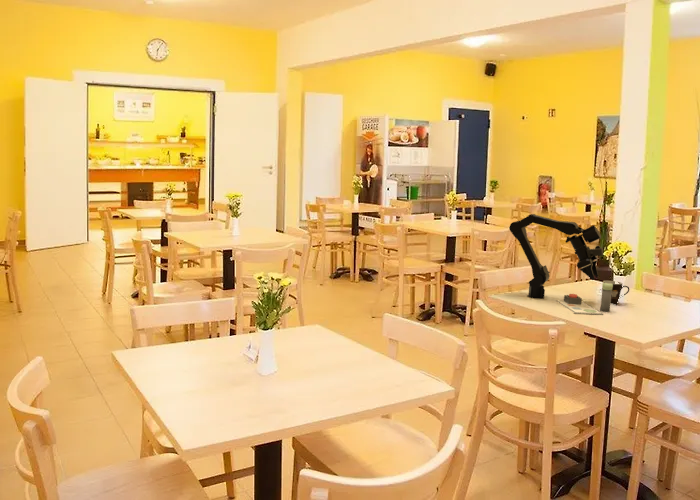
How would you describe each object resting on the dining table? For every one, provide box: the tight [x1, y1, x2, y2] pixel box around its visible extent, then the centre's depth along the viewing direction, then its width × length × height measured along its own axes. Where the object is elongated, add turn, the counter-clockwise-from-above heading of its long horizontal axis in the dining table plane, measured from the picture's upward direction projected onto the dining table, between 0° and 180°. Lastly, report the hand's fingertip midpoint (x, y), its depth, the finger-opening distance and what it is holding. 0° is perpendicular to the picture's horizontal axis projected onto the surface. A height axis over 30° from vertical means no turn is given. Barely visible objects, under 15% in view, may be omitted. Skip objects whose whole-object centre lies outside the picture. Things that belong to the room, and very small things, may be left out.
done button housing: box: [563, 294, 583, 304], centre depth 331 cm, size 6×6×3 cm
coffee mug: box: [602, 280, 630, 305], centre depth 337 cm, size 12×9×10 cm
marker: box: [599, 282, 613, 313], centre depth 317 cm, size 4×4×13 cm
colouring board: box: [556, 300, 604, 316], centre depth 323 cm, size 13×23×1 cm, turn 4°
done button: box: [568, 293, 578, 298], centre depth 331 cm, size 4×4×2 cm
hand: (595, 278), depth 326 cm, fingers open, 9 cm apart
